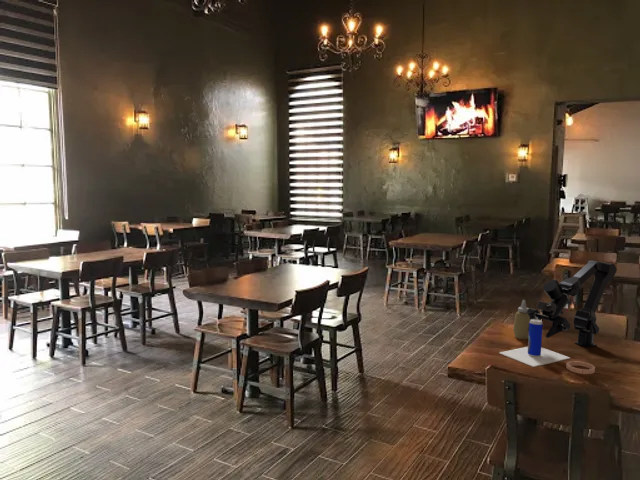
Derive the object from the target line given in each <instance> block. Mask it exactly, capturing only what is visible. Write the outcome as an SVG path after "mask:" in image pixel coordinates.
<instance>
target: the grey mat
mask: <svg viewBox="0 0 640 480" xmlns="http://www.w3.org/2000/svg"><path fill="white" fill-rule="evenodd" d="M498 354H500V355H501V356H505V357H507V358H509V359H512V360H514V361H517V362H520V363H522V364H523V365H524V364H525V365H527V366H530V367H532V368H535V367H539V366H544V365H548V364H553V363H556V362H557V363H558V362H561V361H565V360H569V359H571V357H569V356H566V355H564V354H562V353H558V352H557V351H556V352H555V351H552V350H550V349H547V348H544V347H542V346H541V355H540V356H539V357H533V356H530V355H529V354H528V346H524V347H520V348H519V347H518V348H516V349H509V350H506V351H499V353H498Z"/></svg>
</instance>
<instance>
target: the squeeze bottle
mask: <svg viewBox="0 0 640 480" xmlns="http://www.w3.org/2000/svg"><path fill="white" fill-rule="evenodd" d="M526 302H527V301H526V300H525V299H523V300H522V302H521V305H520V306H519V307H518V308H517V311H516V312H515V316H514V323H513V328H512V330H513V333H514V337H515V338H516V339H519V340H528V339H529V332H528V327H529V322H530V317H529V316H528V314H527V310H528V309H529V307H527V303H526Z"/></svg>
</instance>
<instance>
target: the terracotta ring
mask: <svg viewBox="0 0 640 480" xmlns="http://www.w3.org/2000/svg"><path fill="white" fill-rule="evenodd" d="M565 365H566V367H565V368H566V369H567V370H568V371H570V372H572V373H576V374H582V375H591V374H595V371H596V367H595V366H594V365H593V364H591V363H588V362H587V361H586V362H584V361H580V360H579V361H578V360H570V361H567V362H566V364H565ZM575 366H576V367H575ZM577 366H580V367H583V368H577ZM584 367H585V368H586V369H584Z"/></svg>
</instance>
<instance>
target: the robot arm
mask: <svg viewBox="0 0 640 480" xmlns="http://www.w3.org/2000/svg"><path fill="white" fill-rule="evenodd" d="M617 270H618V269H617V267H616V264H614V263H611V262H605V261H597V260H592V259H591V260H588V261H587V262H586V264H585V265H584V266H582V268H580V270H579V271H577V272H576V273H575V274H574V275H573V276H571V277H568V278H564V279H563V280H562V281H560V282H559V281H558V280H557V279H552V280H550V281H547V282H545V283H544V284H543V286H542V289H543V292H544V293H545V294H546V295H547V296H548V298H549V299H551V301H550V302H545V301H541V300H538V302H537V304H536V306H535V308H536V309H535V308H531V307H530V308H529V307H528V308H529V309H528V310H527V314H528V316H529V317H530V320H531V319H538V320H541V321H542V320H544V321H548V322H551V323H552V325H551V326H550V329H548V332H547V333H546V335H545V338H546V339H550V338H551V337H553V336H554V335H556V334H559V333H561V332H565V331H569V330H570V328H571V323H570V322H569V320H567V317H564V316H562V315H563V314H564V311H563V310H564V309H565V308H566V306H567V305H572V301H571V298H570V297H576V296H577V295H578V294H579V292H580V291H581V290H582V285H583V284H585V283H586V281H587V280H589V279H590V278H591V277H592V276H593V277H594V280H593V283H592V286H591V288H590V290H589V293H588V295H587V298H586V301H585V302H584V306H583V307H582V308H581V309H577V310H576V311H575V315H574V316H573V325H574V330H576V331H578V335H577V336H578V337H577V341H575V342H574V344H576V345H579V346H581V347H584V348H590V347H594V346H595V347H596V346H597V343H594V337H595V335H598V333H599V332H600V327H599V326H598V324H597V323H596V322H597V315H596V311H597V308H598V306H599V303H600V300H601V299H602V298H601V297H602V296H603V293H604V291H605V288H606V285H607V284H608V283H609V282H610V281H612V280H613V279H614V277H615V275H616V274H617ZM568 296H569V297H568ZM538 310H540V311H538ZM540 312H541V313H540ZM560 315H561V316H560ZM528 332H529V327H528Z"/></svg>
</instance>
